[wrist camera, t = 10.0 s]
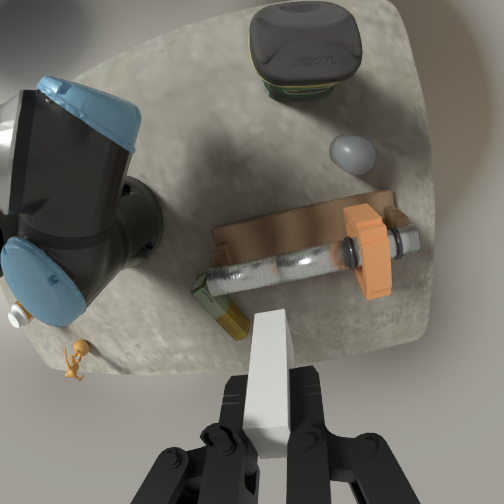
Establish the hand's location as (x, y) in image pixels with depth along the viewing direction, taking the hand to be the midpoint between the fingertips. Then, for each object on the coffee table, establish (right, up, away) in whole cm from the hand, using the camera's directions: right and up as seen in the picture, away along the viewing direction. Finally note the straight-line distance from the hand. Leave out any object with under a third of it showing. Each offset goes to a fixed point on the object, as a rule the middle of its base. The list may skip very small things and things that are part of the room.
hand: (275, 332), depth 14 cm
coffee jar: (+5, +28, +19) cm, 34 cm away
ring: (+13, +6, +23) cm, 28 cm away
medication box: (-6, -4, +35) cm, 35 cm away
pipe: (+7, +4, +22) cm, 23 cm away
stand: (+7, +6, +28) cm, 30 cm away
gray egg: (+12, +18, +22) cm, 31 cm away
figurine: (-40, -17, +44) cm, 61 cm away
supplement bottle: (-52, -7, +40) cm, 66 cm away
